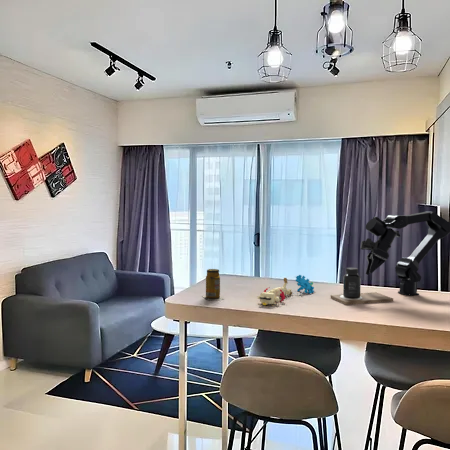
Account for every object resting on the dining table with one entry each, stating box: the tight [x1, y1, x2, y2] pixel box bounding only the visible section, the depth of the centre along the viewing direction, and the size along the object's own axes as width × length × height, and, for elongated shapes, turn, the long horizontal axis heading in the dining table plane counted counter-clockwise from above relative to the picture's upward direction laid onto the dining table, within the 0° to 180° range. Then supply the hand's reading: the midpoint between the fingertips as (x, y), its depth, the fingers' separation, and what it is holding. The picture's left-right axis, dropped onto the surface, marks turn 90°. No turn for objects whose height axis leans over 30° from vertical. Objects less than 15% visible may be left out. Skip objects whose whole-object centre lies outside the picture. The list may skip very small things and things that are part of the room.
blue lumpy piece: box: [295, 274, 315, 295], centre depth 197 cm, size 11×6×10 cm
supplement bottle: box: [342, 267, 362, 299], centre depth 180 cm, size 7×7×12 cm
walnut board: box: [330, 291, 394, 306], centre depth 182 cm, size 22×12×1 cm, turn 105°
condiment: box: [202, 268, 225, 301], centre depth 185 cm, size 7×8×12 cm
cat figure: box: [256, 277, 293, 306], centre depth 182 cm, size 10×9×25 cm
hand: (368, 273), depth 186 cm, fingers open, 9 cm apart
